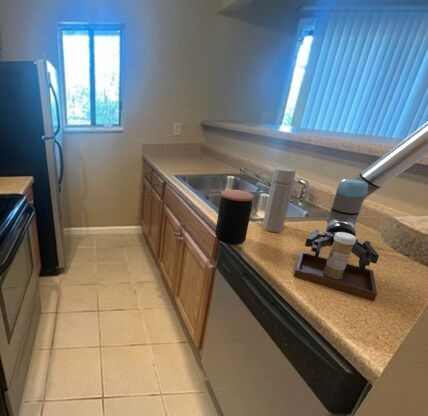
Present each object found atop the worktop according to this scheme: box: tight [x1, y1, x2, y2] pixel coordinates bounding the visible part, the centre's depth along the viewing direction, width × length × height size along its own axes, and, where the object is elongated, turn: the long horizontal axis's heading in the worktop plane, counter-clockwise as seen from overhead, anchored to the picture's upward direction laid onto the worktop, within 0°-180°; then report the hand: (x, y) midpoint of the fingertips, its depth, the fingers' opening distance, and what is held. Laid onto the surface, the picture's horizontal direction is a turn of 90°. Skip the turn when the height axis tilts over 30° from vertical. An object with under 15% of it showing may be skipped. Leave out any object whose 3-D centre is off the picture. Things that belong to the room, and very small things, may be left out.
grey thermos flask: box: [262, 166, 297, 233], centre depth 107 cm, size 9×8×25 cm
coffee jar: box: [214, 189, 255, 245], centre depth 102 cm, size 11×11×18 cm
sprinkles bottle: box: [323, 232, 357, 279], centre depth 79 cm, size 5×5×13 cm
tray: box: [293, 251, 378, 302], centre depth 81 cm, size 18×14×2 cm
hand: (339, 261), depth 75 cm, fingers open, 9 cm apart
